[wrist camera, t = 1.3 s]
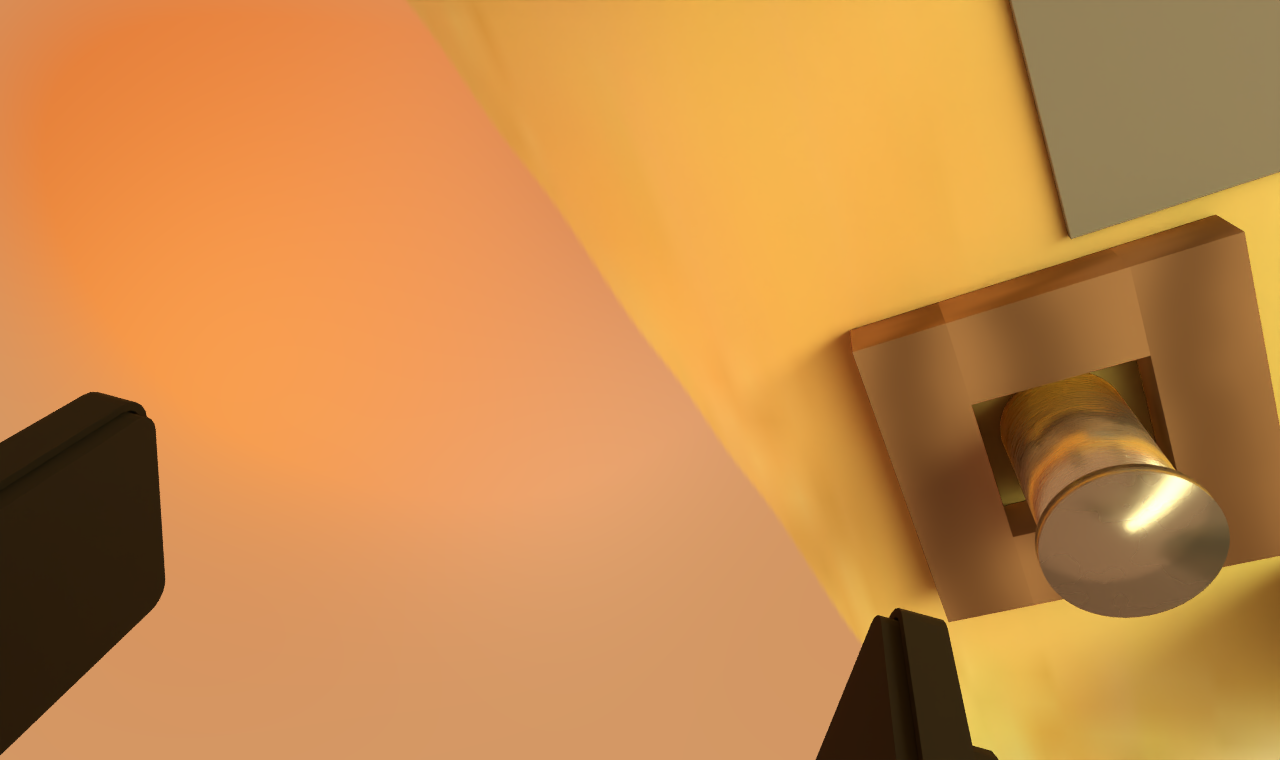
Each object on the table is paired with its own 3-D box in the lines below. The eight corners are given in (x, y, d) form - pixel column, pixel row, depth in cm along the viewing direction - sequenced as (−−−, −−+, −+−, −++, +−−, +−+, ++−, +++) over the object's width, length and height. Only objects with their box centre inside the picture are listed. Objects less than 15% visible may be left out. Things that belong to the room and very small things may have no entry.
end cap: (1121, 343, 35) (1213, 452, 27) (1149, 462, 37) (1243, 597, 29) (974, 385, 37) (1020, 498, 29) (1008, 496, 39) (1060, 632, 31)
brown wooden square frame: (1216, 214, 33) (1244, 231, 31) (1273, 517, 37) (1302, 550, 35) (849, 330, 37) (852, 352, 35) (941, 588, 42) (948, 622, 39)
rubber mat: (1330, -163, 28) (1337, -165, 27) (1368, 138, 31) (1374, 140, 30) (1002, -24, 31) (1005, -24, 30) (1068, 236, 34) (1071, 238, 34)
